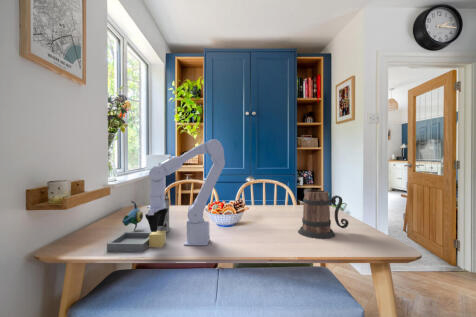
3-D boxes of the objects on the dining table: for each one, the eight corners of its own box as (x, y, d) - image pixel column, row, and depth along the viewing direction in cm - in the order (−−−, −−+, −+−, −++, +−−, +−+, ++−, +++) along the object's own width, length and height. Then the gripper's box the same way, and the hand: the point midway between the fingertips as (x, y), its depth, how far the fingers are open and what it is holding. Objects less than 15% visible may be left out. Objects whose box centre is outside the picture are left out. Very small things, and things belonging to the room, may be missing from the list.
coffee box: (154, 227, 121) (154, 196, 121) (168, 226, 124) (167, 195, 123) (155, 233, 113) (155, 199, 113) (169, 231, 115) (169, 198, 115)
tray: (156, 238, 105) (156, 232, 105) (143, 251, 91) (143, 243, 91) (124, 238, 105) (124, 232, 105) (106, 250, 91) (106, 243, 91)
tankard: (303, 239, 105) (304, 193, 105) (293, 227, 122) (294, 188, 121) (356, 238, 105) (357, 193, 105) (339, 227, 122) (339, 188, 122)
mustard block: (165, 242, 100) (165, 230, 100) (161, 247, 95) (161, 234, 95) (153, 242, 101) (153, 230, 101) (149, 247, 96) (149, 234, 96)
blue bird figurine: (139, 235, 115) (127, 234, 116) (148, 213, 124) (137, 212, 124) (127, 222, 106) (115, 221, 107) (138, 199, 114) (126, 198, 115)
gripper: (154, 192, 105) (154, 223, 105) (140, 198, 91) (140, 234, 91) (170, 193, 105) (170, 223, 105) (158, 198, 91) (158, 234, 91)
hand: (157, 228), depth 98 cm, fingers open, 7 cm apart
